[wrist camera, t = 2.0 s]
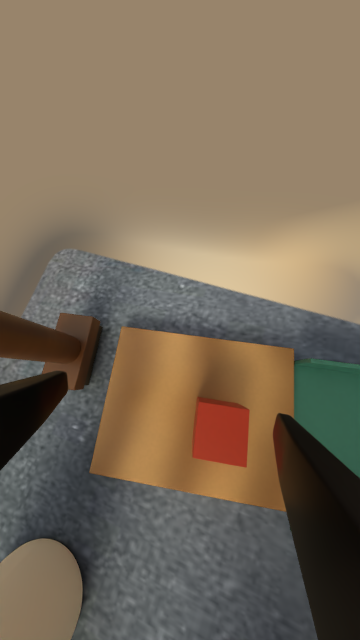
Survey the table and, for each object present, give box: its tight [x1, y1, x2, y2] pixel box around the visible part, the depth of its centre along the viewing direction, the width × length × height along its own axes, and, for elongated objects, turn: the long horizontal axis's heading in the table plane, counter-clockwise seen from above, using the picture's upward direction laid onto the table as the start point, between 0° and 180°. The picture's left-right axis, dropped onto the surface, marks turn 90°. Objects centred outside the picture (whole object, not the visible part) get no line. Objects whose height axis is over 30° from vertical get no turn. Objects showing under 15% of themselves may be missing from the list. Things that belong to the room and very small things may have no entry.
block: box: [192, 397, 250, 468], centre depth 18 cm, size 4×4×4 cm
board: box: [89, 326, 294, 512], centre depth 21 cm, size 18×14×2 cm
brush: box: [0, 311, 103, 390], centre depth 17 cm, size 7×4×13 cm, turn 172°
